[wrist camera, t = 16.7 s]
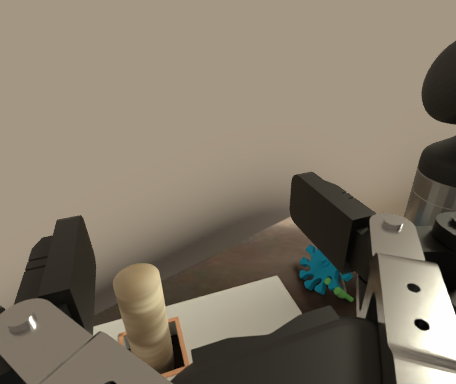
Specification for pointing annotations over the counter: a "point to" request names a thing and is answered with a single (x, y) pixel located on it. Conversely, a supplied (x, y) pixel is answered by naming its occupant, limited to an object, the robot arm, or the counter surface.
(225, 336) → the white peg hole board
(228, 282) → the counter surface
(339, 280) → the gear
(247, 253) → the counter surface
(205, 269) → the counter surface
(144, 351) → the peg
